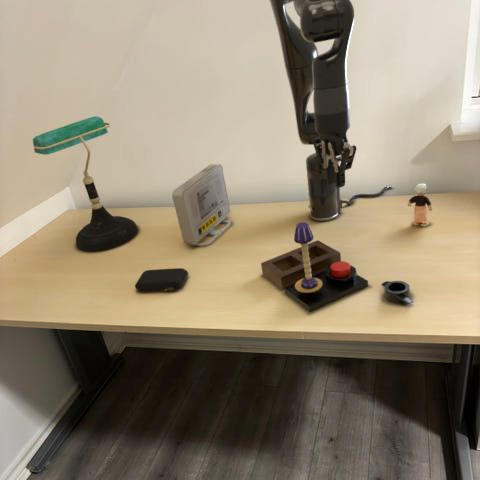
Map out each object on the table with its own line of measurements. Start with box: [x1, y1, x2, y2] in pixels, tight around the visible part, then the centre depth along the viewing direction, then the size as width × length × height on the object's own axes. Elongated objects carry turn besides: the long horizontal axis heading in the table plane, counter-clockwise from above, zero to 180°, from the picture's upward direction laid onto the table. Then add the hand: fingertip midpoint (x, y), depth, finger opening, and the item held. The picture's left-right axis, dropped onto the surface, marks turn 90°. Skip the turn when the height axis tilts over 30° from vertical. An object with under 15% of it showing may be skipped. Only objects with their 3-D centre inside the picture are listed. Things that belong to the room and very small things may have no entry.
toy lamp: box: [293, 221, 318, 289], centre depth 123 cm, size 5×5×17 cm
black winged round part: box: [380, 280, 414, 304], centre depth 122 cm, size 8×10×3 cm
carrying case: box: [134, 267, 189, 292], centre depth 146 cm, size 11×3×15 cm
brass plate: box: [295, 277, 323, 293], centre depth 127 cm, size 7×7×1 cm
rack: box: [260, 240, 342, 291], centre depth 140 cm, size 11×19×4 cm, turn 117°
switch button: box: [331, 260, 351, 277], centre depth 130 cm, size 5×5×2 cm
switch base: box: [283, 264, 369, 313], centre depth 130 cm, size 18×12×4 cm, turn 117°
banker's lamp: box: [32, 115, 139, 253], centre depth 173 cm, size 26×23×40 cm
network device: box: [171, 163, 232, 247], centre depth 166 cm, size 26×9×20 cm, turn 152°
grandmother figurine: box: [407, 183, 433, 228], centre depth 149 cm, size 8×4×13 cm, turn 58°
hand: (335, 184), depth 117 cm, fingers open, 3 cm apart
